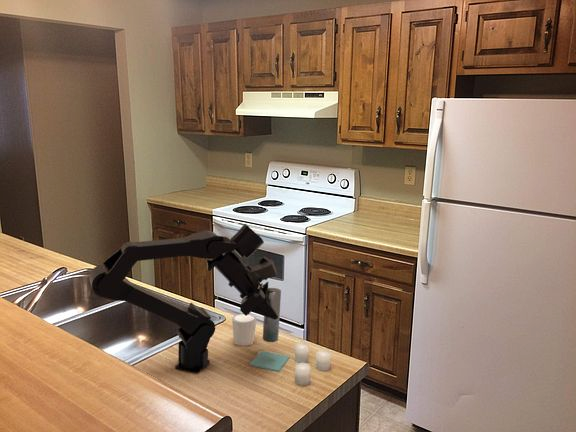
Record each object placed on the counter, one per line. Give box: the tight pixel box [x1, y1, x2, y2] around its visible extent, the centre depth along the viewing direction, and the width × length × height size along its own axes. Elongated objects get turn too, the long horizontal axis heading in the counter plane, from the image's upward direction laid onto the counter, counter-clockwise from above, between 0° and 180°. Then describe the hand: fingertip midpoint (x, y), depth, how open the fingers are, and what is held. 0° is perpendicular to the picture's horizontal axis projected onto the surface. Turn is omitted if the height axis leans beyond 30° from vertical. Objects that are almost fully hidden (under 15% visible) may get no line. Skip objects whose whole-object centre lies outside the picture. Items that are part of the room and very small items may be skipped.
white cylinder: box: [231, 313, 257, 347], centre depth 137 cm, size 7×7×7 cm
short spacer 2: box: [294, 362, 311, 387], centre depth 117 cm, size 4×4×4 cm
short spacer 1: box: [293, 342, 310, 364], centre depth 128 cm, size 4×4×4 cm
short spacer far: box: [315, 349, 332, 372], centre depth 124 cm, size 4×4×4 cm
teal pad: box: [249, 350, 290, 372], centre depth 127 cm, size 8×8×1 cm
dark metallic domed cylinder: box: [262, 287, 282, 343], centre depth 124 cm, size 4×4×13 cm
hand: (277, 314), depth 124 cm, fingers closed on dark metallic domed cylinder, 4 cm apart
